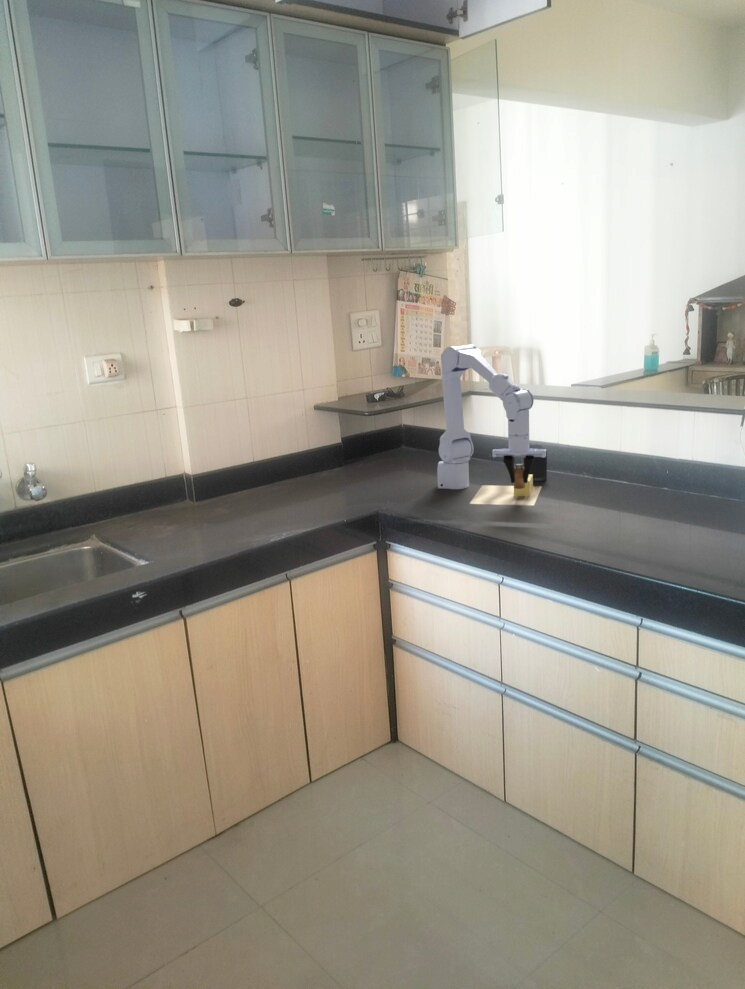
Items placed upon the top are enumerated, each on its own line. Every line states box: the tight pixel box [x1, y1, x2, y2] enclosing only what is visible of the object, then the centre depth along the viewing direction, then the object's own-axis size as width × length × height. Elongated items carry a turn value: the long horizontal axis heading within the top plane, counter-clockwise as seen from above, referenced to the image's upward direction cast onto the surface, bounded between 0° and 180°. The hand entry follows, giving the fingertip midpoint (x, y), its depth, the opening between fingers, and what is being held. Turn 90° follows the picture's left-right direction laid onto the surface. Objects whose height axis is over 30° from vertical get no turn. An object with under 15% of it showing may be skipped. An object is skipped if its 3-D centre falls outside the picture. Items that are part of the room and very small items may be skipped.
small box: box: [521, 444, 548, 482], centre depth 237 cm, size 11×6×10 cm, turn 179°
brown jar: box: [513, 463, 525, 489], centre depth 211 cm, size 3×3×6 cm
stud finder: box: [514, 474, 534, 496], centre depth 220 cm, size 4×8×5 cm, turn 162°
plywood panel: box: [469, 484, 543, 507], centre depth 220 cm, size 18×21×1 cm
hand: (519, 482), depth 211 cm, fingers closed on brown jar, 3 cm apart
